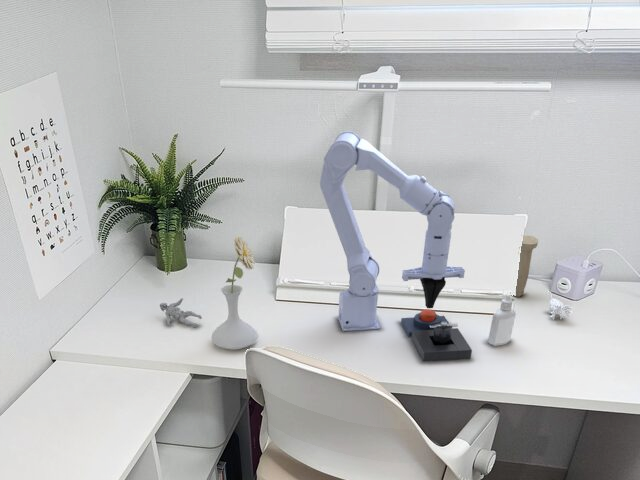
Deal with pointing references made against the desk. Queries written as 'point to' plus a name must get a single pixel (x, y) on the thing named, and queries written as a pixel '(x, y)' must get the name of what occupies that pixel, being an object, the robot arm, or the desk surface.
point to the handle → (525, 262)
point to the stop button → (427, 315)
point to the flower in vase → (236, 307)
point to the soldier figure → (178, 313)
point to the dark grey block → (442, 333)
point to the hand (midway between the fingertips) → (429, 306)
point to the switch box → (420, 323)
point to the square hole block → (441, 346)
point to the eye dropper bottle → (502, 323)
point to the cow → (558, 308)
